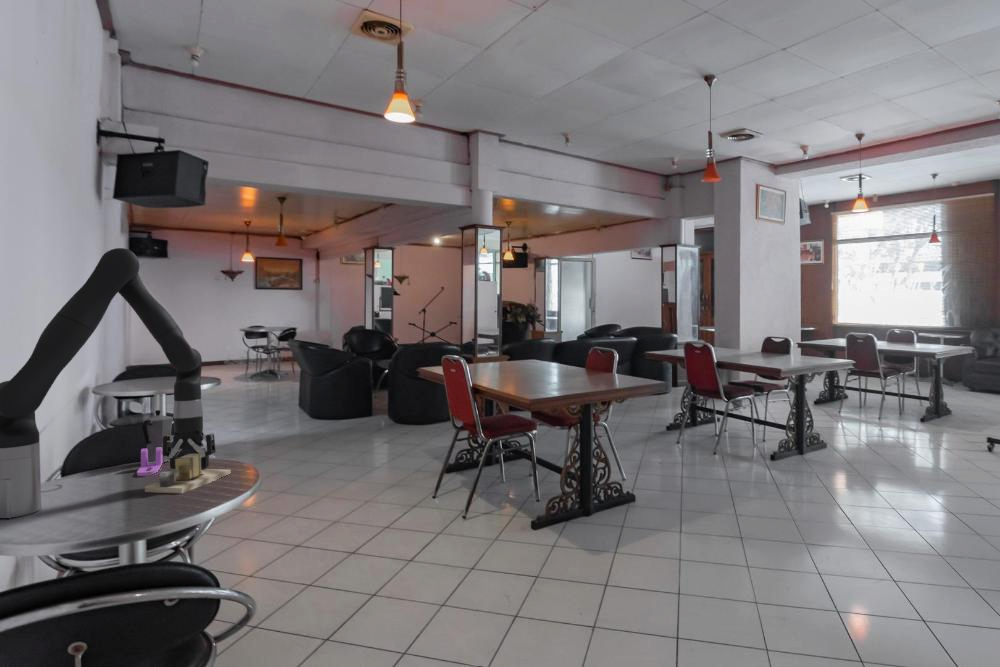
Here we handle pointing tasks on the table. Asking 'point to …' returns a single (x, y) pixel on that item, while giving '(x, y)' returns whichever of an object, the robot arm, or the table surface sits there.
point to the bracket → (153, 467)
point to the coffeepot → (156, 433)
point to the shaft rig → (184, 481)
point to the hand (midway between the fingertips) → (189, 469)
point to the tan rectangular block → (188, 466)
